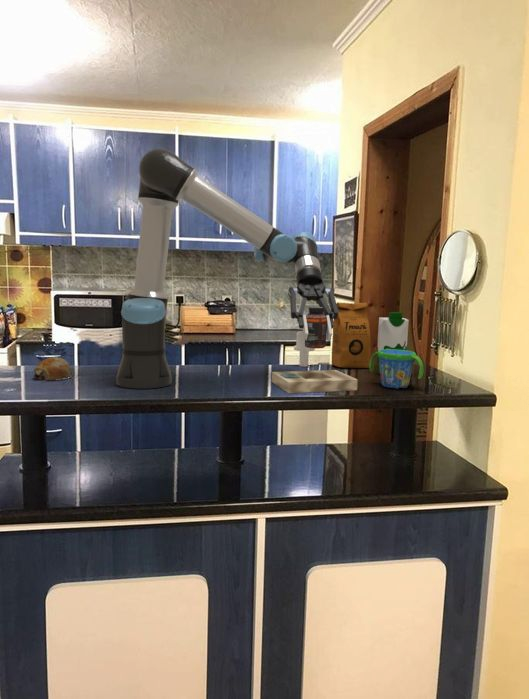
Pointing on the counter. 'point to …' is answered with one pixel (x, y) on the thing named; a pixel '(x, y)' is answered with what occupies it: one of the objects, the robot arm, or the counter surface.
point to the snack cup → (396, 367)
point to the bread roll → (52, 369)
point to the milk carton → (392, 333)
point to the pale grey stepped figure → (302, 347)
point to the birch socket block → (314, 381)
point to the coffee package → (351, 336)
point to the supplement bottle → (316, 328)
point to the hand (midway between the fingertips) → (318, 336)
